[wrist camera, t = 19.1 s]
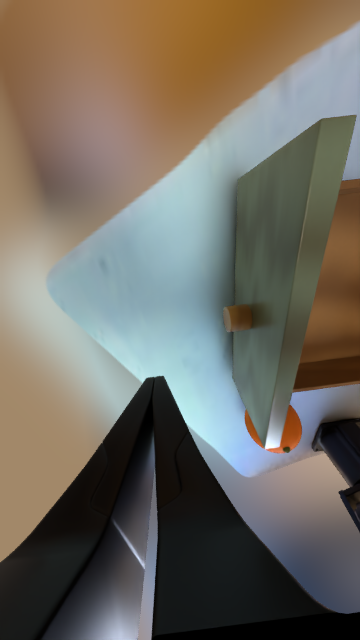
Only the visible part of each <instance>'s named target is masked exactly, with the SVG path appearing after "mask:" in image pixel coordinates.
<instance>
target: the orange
mask: <svg viewBox="0 0 360 640" xmlns="http://www.w3.org/2000/svg"><path fill="white" fill-rule="evenodd" d="M245 424H246V427H247V430H248V432H249V434H250V436H251V437H252V439H253V440H254V441H255V442H256V443H257V444H258V445H259V446H261V447H262V448H264V447H263V445H262V443H261V440H260V438H259V436H258V434H257V432H256V429H255V427H254V425H253V423H252V420H251V418H250V416H249V414H248V412H247V409H246V411H245ZM301 435H302V426H301V422H300V419H299V416H298V414H297V413H296V411H295V410H294V409H293V407H292V406H291V405H290V404H289V408H288V412H287V416H286V421H285V425H284V429H283V434H282V438H281V442H280V446H279V447H276V448H269V449H265V450H267V451H270V452H274V453H289V452H290V451H291V450H292V449H294V448H295V447H296V446H297V445H298V443H299V441H300V439H301Z"/></svg>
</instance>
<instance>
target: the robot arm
mask: <svg viewBox="0 0 360 640" xmlns="http://www.w3.org/2000/svg"><path fill="white" fill-rule="evenodd" d="M312 449H313V450H314V451H315V452H317V451H324V452H325V453H326V454H327V456H328V457H329V458H330V460H331V461H332V463H333V464H334V465H335V467H336V468H337V470H338V471H339V472H340V474H341V475H342V477H343V478H344V479H345V481H346V482H347V484H348V485H349V486H350V488H348V489H346V490H341V491H339V494H340V496H341V499H342V501H343V503H344V505H345V507H346V508H347V510H348V512H349V514H350V515H351V517H352V519H353V521H354V523H355V524H356V526H357V528H358V530H359V532H360V419H357V420H350V421H343V422H335V423H328V424H322V425H321V426H320V428H319V430H318V433H317V436H316V438H315V441H314V444H313V446H312ZM154 469H155V474H156V497H157V511H158V512H157V517H158V518H157V519H158V543H157V559H156V576H155V592H154V607H153V623H152V639H151V640H360V612H357V613H351V614H344V613H338V612H335V611H333V610H331V609H328V608H327V607H325V606H323V605H322V604H321V603H319V602H318V601H316V600H315V599H314V598H313V597H312V596H311V595H310V594H309V593H308V592H307V591H306V590H305V589H304V588H303V587H302V586H301V584H300V583H299V582H298V581H297V580H296V579H295V578H294V577H293V575H292V574H291V573H290V572H289V571H288V570H287V569H286V568H285V567H284V565H283V564H282V563H281V562H280V561H279V560H278V559H277V558H276V557H275V555H274V554H273V553H272V552H271V551H270V550H269V549H268V548H267V546H266V545H265V544H264V543H263V542H262V541H261V540H260V539H259V538H258V537H257V535H256V534H255V533H254V532H253V531H252V530H251V529H250V527H249V526H248V525H247V524H246V522H245V521H244V520H243V519H242V517H241V516H240V515H239V513H238V512H237V511H236V509H235V507H234V506H233V504H232V503H231V501H230V500H229V498H228V497H227V495H226V494H225V492H224V490H223V489H222V487H221V486H220V484H219V483H218V481H217V479H216V478H215V476H214V475H213V473H212V472H211V470H210V468H209V467H208V465H207V463H206V462H205V460H204V458H203V457H202V455H201V453H200V452H199V450H198V448H197V446H196V444H195V442H194V440H193V438H192V435H191V433H190V432H189V429H188V427H187V425H186V423H185V421H184V418H183V416H182V414H181V412H180V410H179V408H178V406H177V403H176V401H175V399H174V397H173V395H172V393H171V391H170V388H169V386H168V384H167V382H166V380H165V378H164V376H157V377H149V378H146V380H145V381H144V382H143V384H142V385H141V387H140V388H139V390H138V391H137V393H136V394H135V395H134V397H133V398H132V400H131V401H130V403H129V404H128V406H127V407H126V408H125V410H124V411H123V413H122V414H121V416H120V417H119V419H118V420H117V421H116V423H115V424H114V426H113V427H112V429H111V430H110V432H109V433H108V435H107V436H106V437H105V439H104V440H103V443H101V445H100V446H99V447H98V449H97V450H96V452H95V453H94V454H93V456H92V457H91V459H90V460H89V461H88V463H87V464H86V466H85V467H84V468H83V469H82V471H81V472H80V473H79V474H78V476H77V477H76V478H75V480H74V481H73V482H72V483H71V485H70V486H69V487H68V488H67V490H66V491H65V492H64V493H63V495H62V496H61V497H60V499H58V501H57V502H56V503H55V504H54V506H53V507H52V508H51V509H50V511H49V512H48V513H47V514H46V515H45V517H44V518H43V519H42V520H41V522H40V523H39V524H38V525H37V526H36V528H35V529H34V530H33V531H32V533H31V534H30V535H29V536H28V537H27V538H26V539H25V540H24V541H23V542H22V543H21V544H20V546H18V547H17V548H16V549H15V550H14V551H13V552H12V553H11V554H10V555H9V556H8V557H6V558H5V559H4V560H3V561H1V562H0V640H138V631H139V621H140V611H141V601H142V591H143V581H144V567H145V560H146V549H147V540H148V529H149V520H150V509H151V499H152V489H153V479H154Z"/></svg>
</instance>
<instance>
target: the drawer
mask: <svg viewBox="0 0 360 640" xmlns="http://www.w3.org/2000/svg"><path fill="white" fill-rule="evenodd" d="M355 121H356V115H349V116H341V117H332V118H323V119H321V120H319V121H318V122H316V123H315V124H314V125H312V126H311V127H309V128H308V129H307V130H305V131H304V132H303V133H301V134H300V135H298V136H297V137H296V138H294V139H293V140H292V141H290V142H289V143H287V144H286V145H285V146H283V147H282V148H281V149H279V150H278V151H276V152H275V153H274V154H272V155H271V156H270V157H268V158H267V159H265V160H264V161H263V162H261V163H260V164H258V165H257V166H256V167H254V168H253V169H252V170H250V171H249V172H247V173H246V174H245V175H243V176H242V177H241V178H239V179H238V188H237V225H236V262H235V298H234V305H232V306H225V307H224V310H223V319H224V324H225V328H226V330H227V331H228V332H234V335H233V372H232V378H233V380H234V383H235V385H236V387H237V389H238V392H239V394H240V396H241V398H242V400H243V403H244V405H245V407H246V409H247V412H248V414H249V416H250V418H251V420H252V423H253V425H254V427H255V429H256V432H257V434H258V436H259V438H260V440H261V443H262V445H263V447H264V449H269V448H276V447H279V446H280V442H281V438H282V434H283V429H284V425H285V421H286V416H287V412H288V408H289V404H290V399H291V395H292V393H293V392H301V391H308V390H316V389H323V388H331V387H338V386H345V385H353V384H360V179H354V180H346V181H342V177H343V172H344V168H345V164H346V160H347V155H348V151H349V147H350V143H351V138H352V134H353V130H354V125H355Z"/></svg>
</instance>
